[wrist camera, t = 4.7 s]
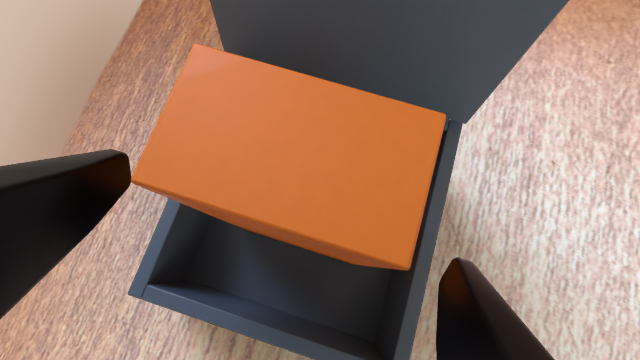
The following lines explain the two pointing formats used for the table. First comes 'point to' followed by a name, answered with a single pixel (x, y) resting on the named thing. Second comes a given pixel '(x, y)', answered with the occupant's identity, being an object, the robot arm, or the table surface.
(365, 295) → the blue gray box
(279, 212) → the plate
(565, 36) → the table surface
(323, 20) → the lid
